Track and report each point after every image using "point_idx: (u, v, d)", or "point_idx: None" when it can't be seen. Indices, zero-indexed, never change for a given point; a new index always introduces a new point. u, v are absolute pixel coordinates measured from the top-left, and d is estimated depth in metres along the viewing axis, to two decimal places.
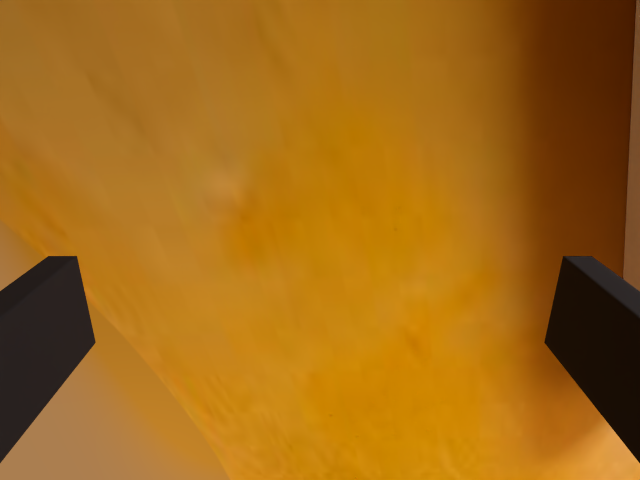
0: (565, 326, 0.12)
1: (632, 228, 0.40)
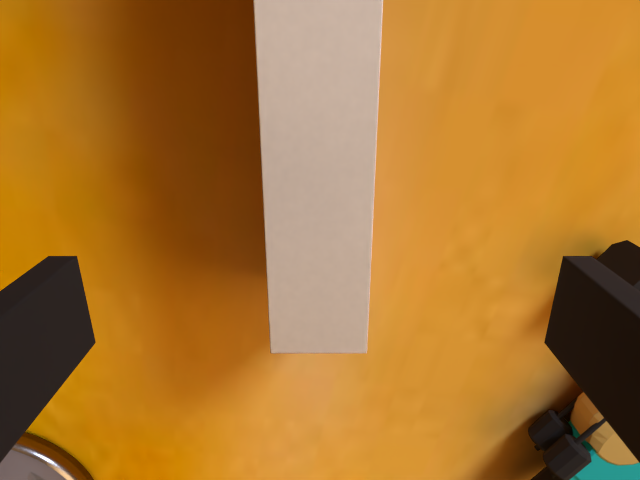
0: (565, 326, 0.12)
1: None
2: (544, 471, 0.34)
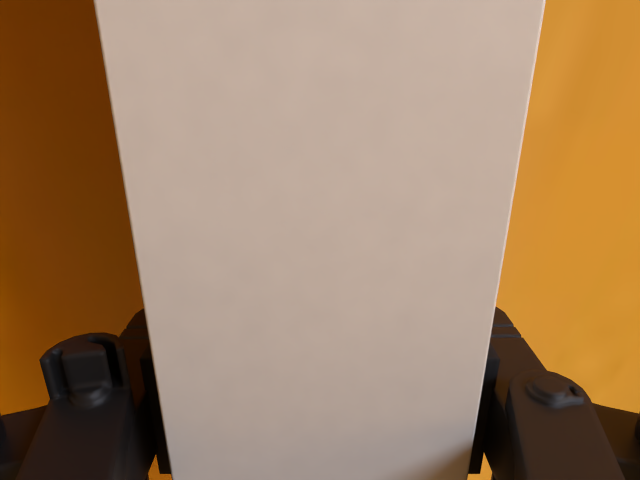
0: None
1: None
2: None
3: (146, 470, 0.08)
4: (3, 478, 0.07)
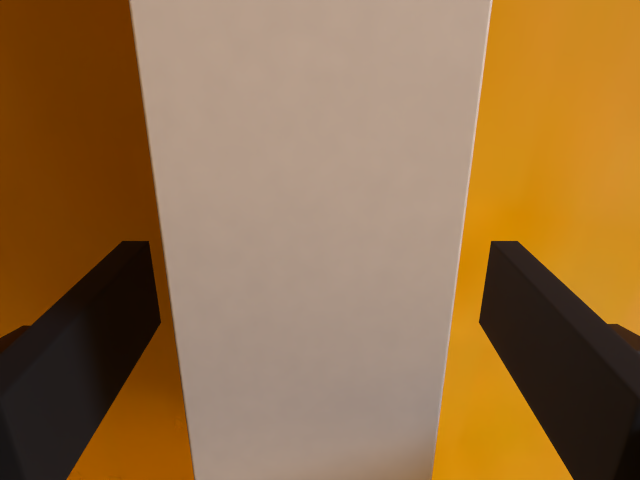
0: (492, 305, 0.13)
1: None
2: None
3: None
4: None
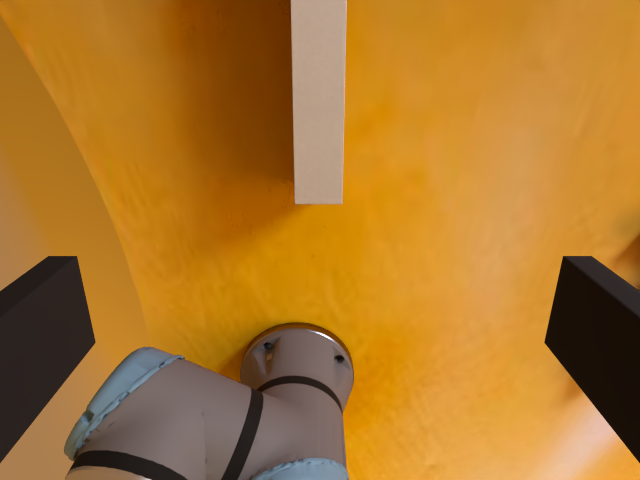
0: (565, 326, 0.12)
1: None
2: None
3: None
4: None
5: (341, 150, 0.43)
